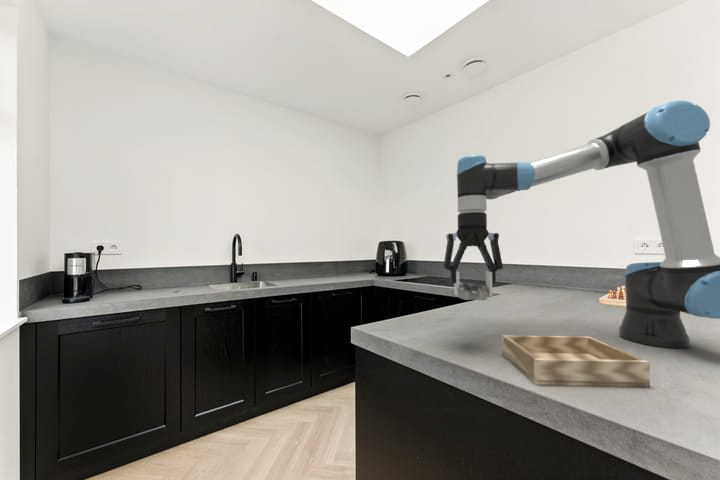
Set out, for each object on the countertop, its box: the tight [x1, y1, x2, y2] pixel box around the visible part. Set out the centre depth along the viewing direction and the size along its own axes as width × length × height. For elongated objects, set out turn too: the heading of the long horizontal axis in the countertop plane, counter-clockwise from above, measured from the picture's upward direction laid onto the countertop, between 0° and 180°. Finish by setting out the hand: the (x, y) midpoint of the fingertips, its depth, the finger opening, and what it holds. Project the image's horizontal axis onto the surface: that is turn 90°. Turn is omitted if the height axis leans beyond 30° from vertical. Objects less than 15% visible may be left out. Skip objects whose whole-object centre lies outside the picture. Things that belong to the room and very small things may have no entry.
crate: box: [501, 334, 651, 388], centre depth 70 cm, size 22×17×5 cm
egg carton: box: [459, 281, 488, 301], centre depth 84 cm, size 11×8×4 cm
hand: (472, 295), depth 84 cm, fingers closed on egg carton, 8 cm apart
